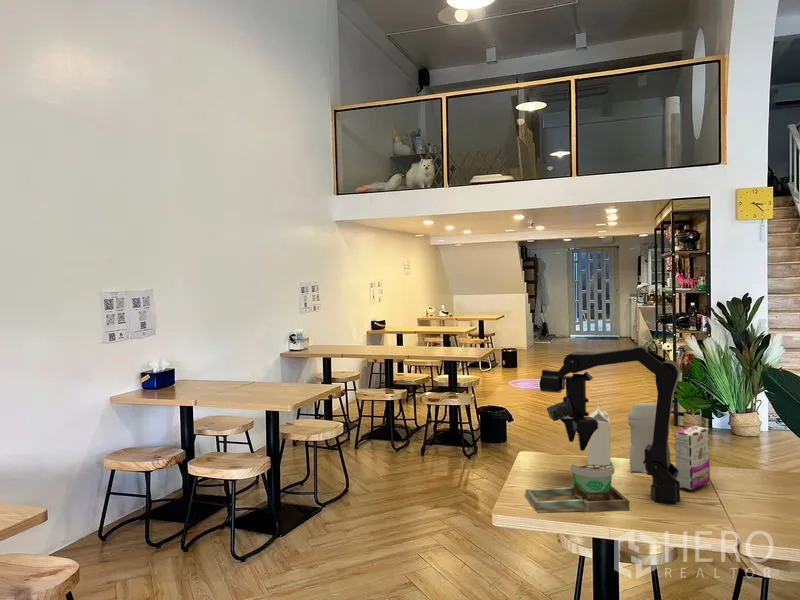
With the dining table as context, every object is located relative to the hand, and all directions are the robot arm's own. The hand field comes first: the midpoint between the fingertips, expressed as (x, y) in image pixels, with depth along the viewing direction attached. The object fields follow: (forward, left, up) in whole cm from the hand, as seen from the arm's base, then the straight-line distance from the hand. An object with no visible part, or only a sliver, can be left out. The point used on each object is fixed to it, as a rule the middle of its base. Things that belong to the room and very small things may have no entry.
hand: (576, 446), depth 172 cm
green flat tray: (+4, +13, -12) cm, 18 cm away
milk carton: (-14, -18, -12) cm, 26 cm away
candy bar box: (-34, +3, -12) cm, 36 cm away
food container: (0, +14, -12) cm, 18 cm away
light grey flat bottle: (-26, -10, -12) cm, 31 cm away
